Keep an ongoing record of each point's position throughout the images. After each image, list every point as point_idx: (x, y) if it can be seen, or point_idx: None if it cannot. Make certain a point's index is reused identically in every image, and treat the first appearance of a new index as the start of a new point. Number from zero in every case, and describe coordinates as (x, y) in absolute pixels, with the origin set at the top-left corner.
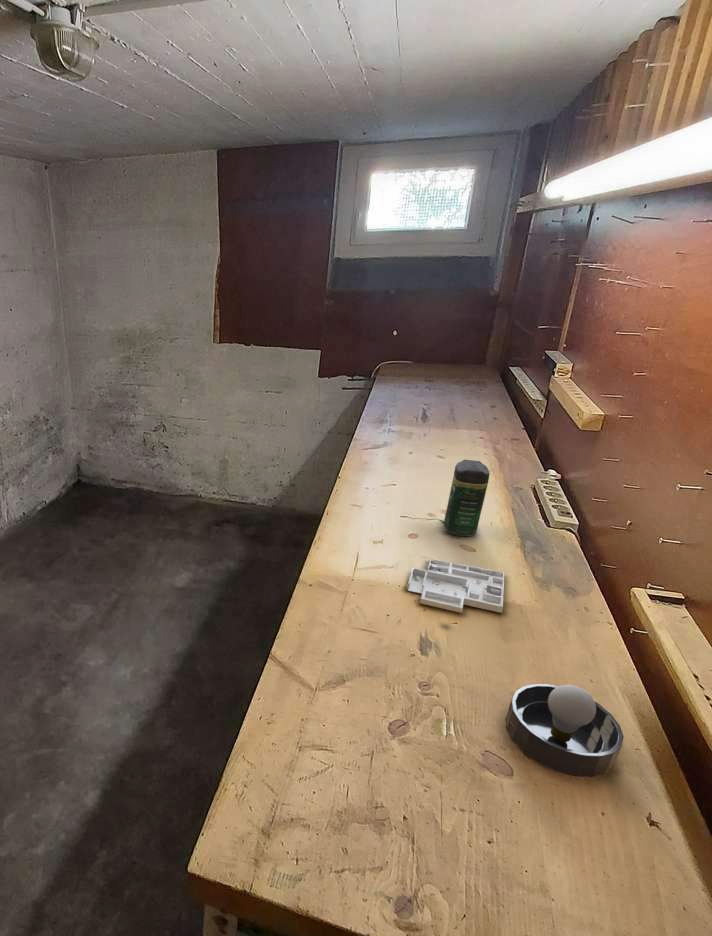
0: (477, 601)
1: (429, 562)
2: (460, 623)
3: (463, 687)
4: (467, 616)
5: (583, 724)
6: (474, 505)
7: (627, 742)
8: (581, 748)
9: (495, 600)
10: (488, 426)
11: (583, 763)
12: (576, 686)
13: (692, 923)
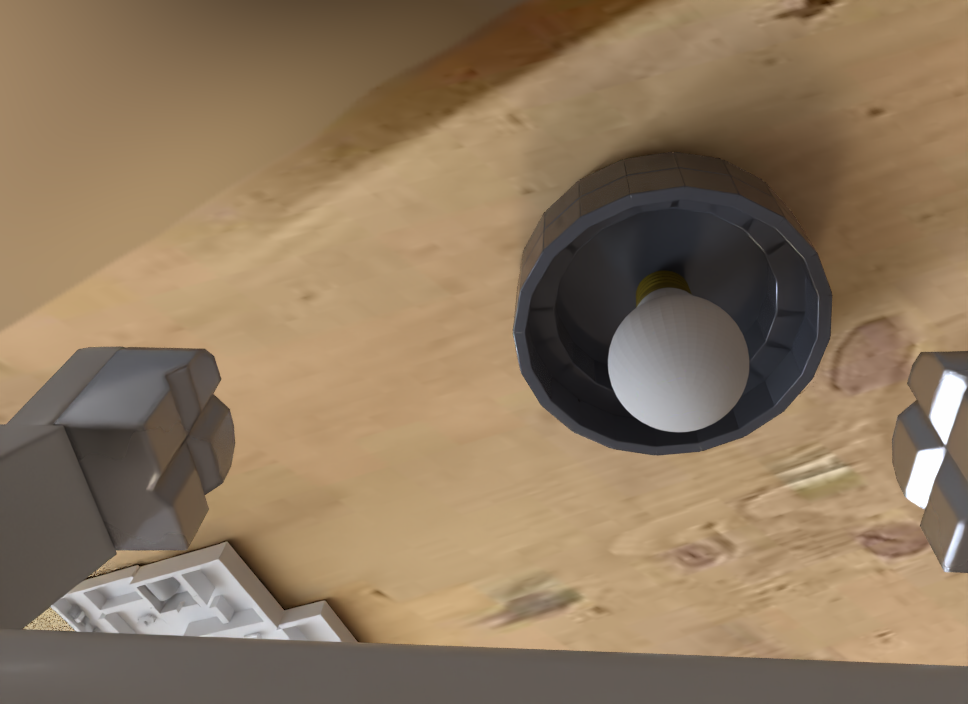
0: (258, 604)
1: None
2: (368, 585)
3: (626, 499)
4: (322, 584)
5: (718, 306)
6: None
7: (506, 147)
8: (654, 233)
9: (193, 571)
10: None
11: (801, 230)
12: (650, 406)
13: None
